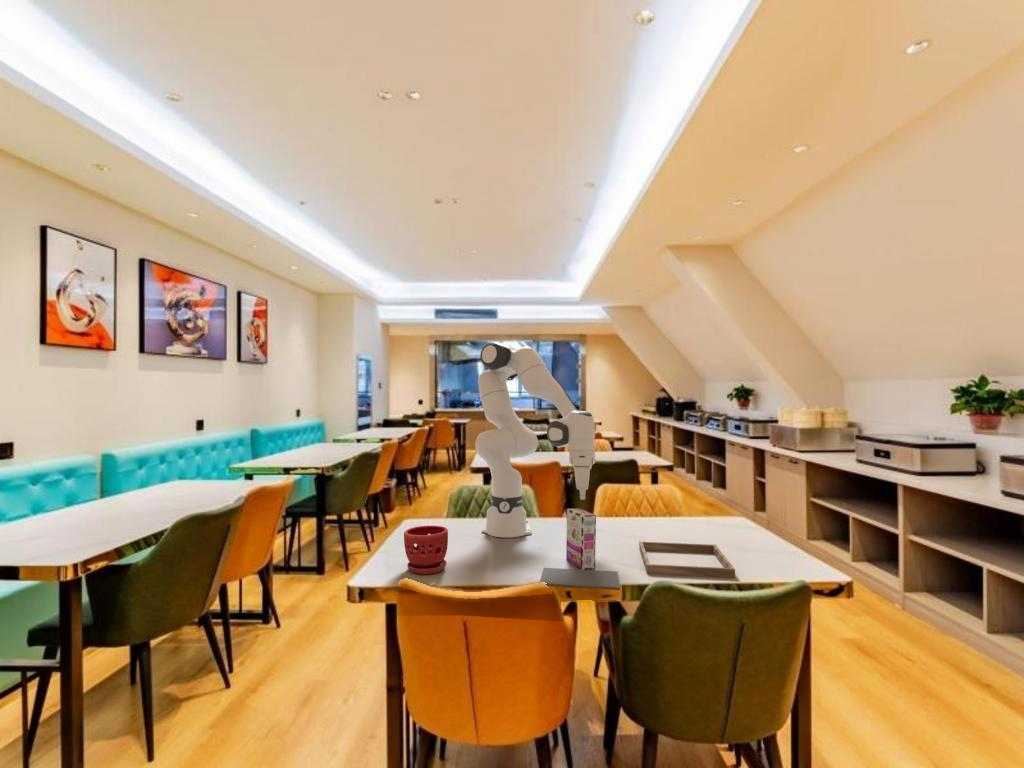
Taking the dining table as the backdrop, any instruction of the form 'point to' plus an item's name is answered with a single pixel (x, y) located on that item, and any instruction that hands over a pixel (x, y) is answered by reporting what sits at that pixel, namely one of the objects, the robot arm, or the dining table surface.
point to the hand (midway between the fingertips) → (582, 498)
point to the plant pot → (426, 548)
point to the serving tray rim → (686, 570)
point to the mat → (581, 578)
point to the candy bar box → (581, 538)
